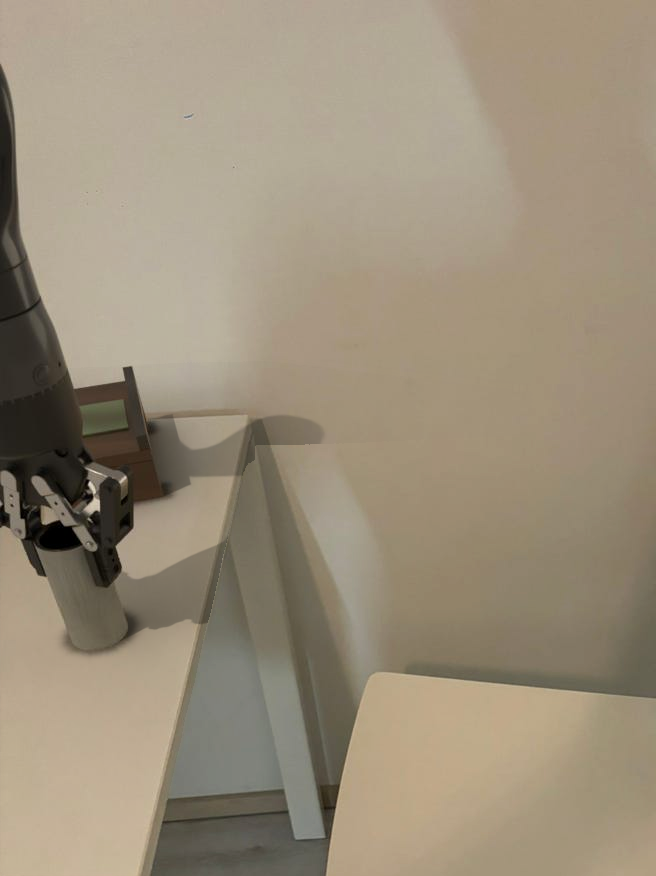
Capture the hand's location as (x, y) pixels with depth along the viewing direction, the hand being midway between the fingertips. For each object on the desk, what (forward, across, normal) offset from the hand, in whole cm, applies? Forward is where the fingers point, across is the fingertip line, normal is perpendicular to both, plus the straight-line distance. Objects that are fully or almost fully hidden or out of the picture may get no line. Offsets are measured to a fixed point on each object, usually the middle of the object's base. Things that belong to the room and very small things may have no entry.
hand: (79, 575), depth 73 cm
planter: (+7, 0, 0) cm, 7 cm away
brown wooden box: (+7, +14, -24) cm, 28 cm away
